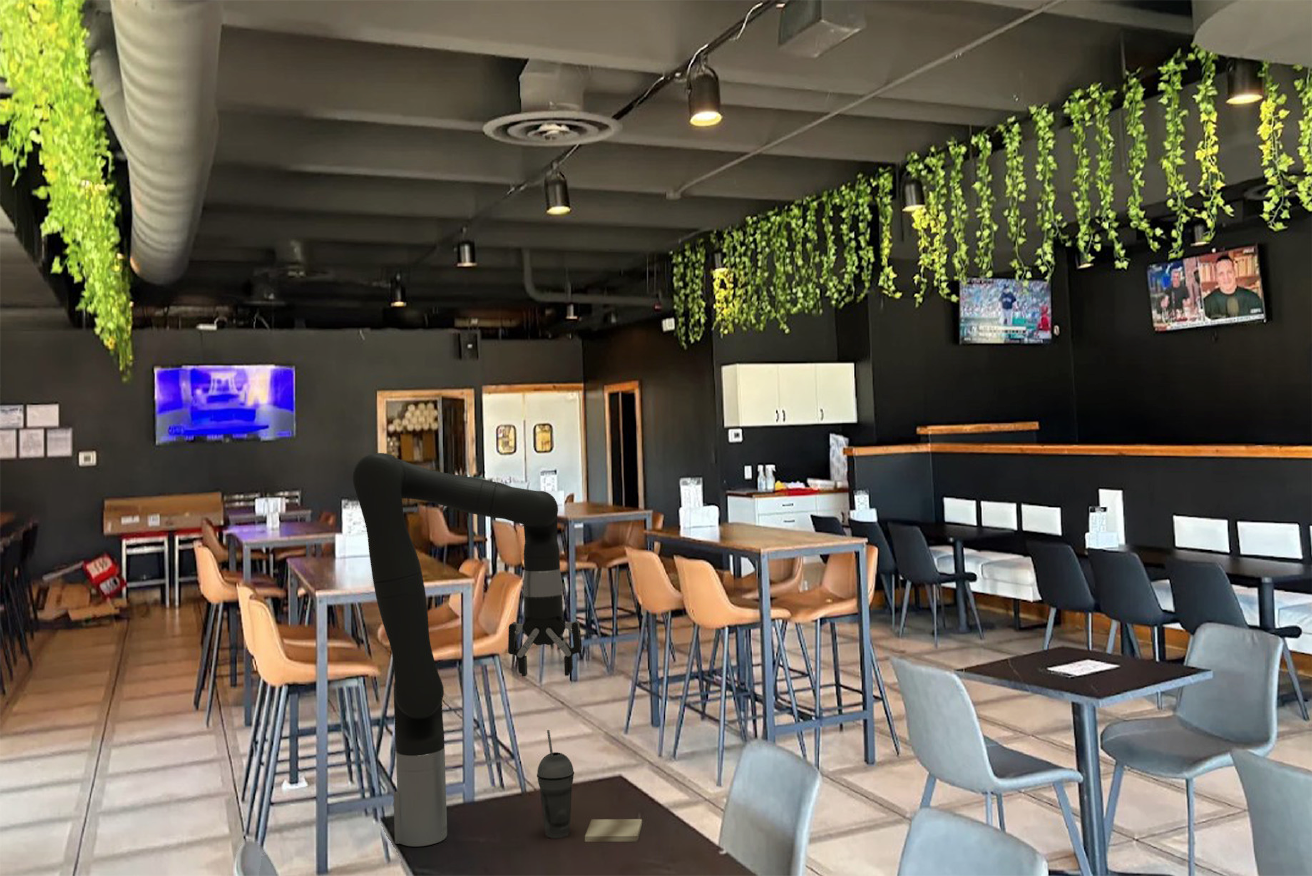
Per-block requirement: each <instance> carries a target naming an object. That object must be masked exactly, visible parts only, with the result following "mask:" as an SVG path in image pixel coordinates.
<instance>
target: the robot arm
mask: <svg viewBox="0 0 1312 876" xmlns="http://www.w3.org/2000/svg"><path fill="white" fill-rule="evenodd" d="M352 472H353V473H352V483H353V487H354V491H355V494H356V497H357V500H358V503H359V506H360V509H361V513H362V517H363V520H364V521H363V522H364V524H365V529H366V534H367V535H366V537H367V546H368V553H369V561H370V568H371V569H370V570H371V575H372V583H373V587H374V593H375V598H376V604H377V607H378V610H379V611H378V612H379V614H380V618H381V621H382V625H383V628H384V631H385V634H386V637H387V640H388V642H389V643H388V644H389V647H390V652H391V655H392V664H393V673H394V674H393V675H394V683H393V711H394V712H393V713H394V739H395V758H396V759H395V760H396V761H395V762H396V763H395V765H396V766H395V767H396V791H395V792H394V793H393V821H394V822H393V824H394V826H393V827H394V843H395V844H396V845H397V844H401V845H403V846H407V847H425V846H430V845H434V844H437V843H440V842H442V841H444V840H445V839H446V838H447V837H448V821H447V819H448V818H447V785H446V753H445V752H446V751H445V750H446V748H445V728H444V719H443V718H444V716H443V699H444V693H445V691H444V689H445V688H444V683H443V682H442V679H441V677H440V674H439V670H438V668H437V667H438V666H437V664H436V660H435V657H434V653H433V650H432V646H431V639H430V632H429V631H430V628H429V626H430V625H429V614H428V613H429V612H428V603H427V601H428V600H427V596H426V587H425V582H424V575H423V572H422V566H421V562H420V559H419V557H418V554H417V551H416V548H415V545H414V542H413V540H412V538H411V536H410V534H409V530H408V527H407V524H406V523H407V522H406V519H405V514H404V507H403V499H408V500H409V499H410V500H418V501H424V502H428V503H433V504H437V505H440V506H443V507H447V508H450V509H453V510H457V511H459V512H464V513H468V514H472V515H477V516H482V517H486V518H492V519H493V518H494V519H500V520H502V519H503V520H507V521H511V522H512V523H513V522H514V523H517V524H520V525H523V533H524V534H523V535H524V546H523V547H524V548H523V569H524V570H523V571H524V573H523V600H524V601H523V606H524V607H523V608H524V609H523V611H524V621H523V623H517V622H516V621H513V622H511V623H510V624H508V633H507V634H508V635H507V636H508V642H507V643H508V644H507V653H508V654H509V655H513V656H515V657H516V658H517V666H518V668H517V669H518V673H519V674H521V677H527V676H528V656H527V655H526V654H527V652H528V650H529V649H531V647H532V646H533V644H534V645H536V646H542V645H545V646H546V645H548V646H552V645H554V644H555V645H556V646H557V647H558V649H560V650H561V651H562V653H563V654H564V656H563V662H564V663H563V665H564V676H565V677H567V676H568V677H569V675H570V674H571V673H572V672H573V670H574V655H575V654H579V653H580V652H581V651H582V650H583V646H582V635H581V633H582V631H581V625H580V624H581V623H580V621H579V620H574V621H570V622H566V621H565V619H564V611H563V610H564V609H563V608H564V605H563V604H564V602H563V588H564V587H563V582H562V581H563V579H562V574H561V560H560V559H561V556H560V546H559V543H558V515H559V505H558V502H557V500H556V498H555V496H553V495H552V494H550V492H547V491H543V490H533V489H532V490H531V489H528V488H527V489H526V488H521V487H513V486H510V485H508V484H505V483H502V482H498V481H493V480H489V479H484V478H478V477H473V476H466V475H461V474H452V473H447V472H442V471H438V470H432V469H429V468H425V467H421V466H419V465H415V464H413V463H410V462H408V461H405V460H402V459H400V458H397V457H395V456H394V455H392V454H390V453H386V452H377V453H371V454H367V455H365V456H363V457H362V458H361V459H360V460H359V461H358V462H357V464H356V465H355V467H354V469H353V471H352ZM565 629H567V630H568V633H569V634H572V642H573V643H572V645H573V646H572V647H571V645H570V644H569V643H568V641H567V639H566V638H565V637H564V636H563V633H564V631H565ZM521 630H522V631H523V632H524V633H525V634H526V636H527V639H526V640H525V641H524V643H523V644H522V646H521V647H520V648H519V647H518V635H519V634H520V633H521Z"/></svg>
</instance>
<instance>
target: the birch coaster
mask: <svg viewBox="0 0 1312 876" xmlns="http://www.w3.org/2000/svg"><path fill="white" fill-rule="evenodd" d="M642 826H643V819H642V818H634V819H633V818H632V819H631V818H628V819H626V818H619V819H617V818H616V819H615V818H614V819H610V818H608V819H607V818H605V819H603V818H602V819H601V818H600V819H597V818H596V819H594V818H591V820H590V823H589V825H588V827H587V830H586V833H585V835H584V842H585V843H587V842H590V843H591V842H592V843H593V842H596V843H597V842H598V843H599V842H602V843H603V842H604V843H605V842H608V843H609V842H610V843H611V842H613V843H614V842H615V843H616V842H617V843H618V842H620V843H621V842H638V841H639V838H640V833H641V831H642Z"/></svg>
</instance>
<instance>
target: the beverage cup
mask: <svg viewBox="0 0 1312 876" xmlns="http://www.w3.org/2000/svg"><path fill="white" fill-rule="evenodd" d="M546 733H547V740H548V747H549V753H548V754H546V755H545V756H544V757H542V759H541V760H540V762H539V764H538V767H537V770H536V771H537V773H536V778H537V783H538V786H539V791H540V792H539V793H540V801H541V809H542V816H543V817H542V819H543V827H544V829H545V836H546V835H547V836H548V837H547V836H546V837H547V838H549V837H550V839H561V838H566V837H568V836H569V834H570V826H571V812H572V810H571V808H572V789H573V788H572V787H573V782H574V774H575V771H574V766H573V764H572V761H571V759H570V758H569V757H568V756H567V755H565V754H564V753H562V752H557V751H556V752H553V747H552V746H553V744H552V740H551V739H552V738H551V732H550V729H547V730H546ZM565 836H566V837H565Z"/></svg>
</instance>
